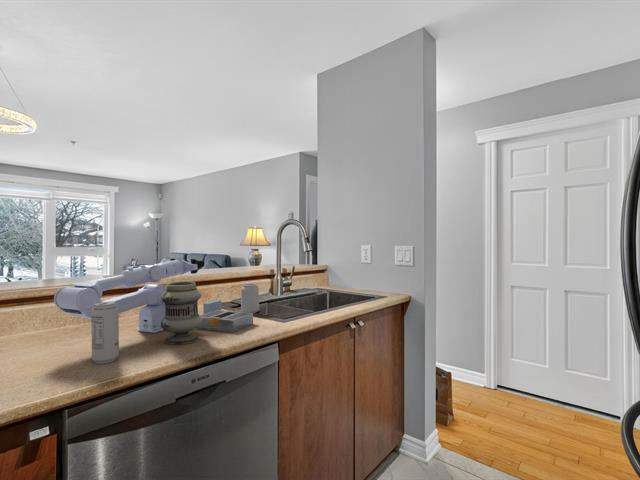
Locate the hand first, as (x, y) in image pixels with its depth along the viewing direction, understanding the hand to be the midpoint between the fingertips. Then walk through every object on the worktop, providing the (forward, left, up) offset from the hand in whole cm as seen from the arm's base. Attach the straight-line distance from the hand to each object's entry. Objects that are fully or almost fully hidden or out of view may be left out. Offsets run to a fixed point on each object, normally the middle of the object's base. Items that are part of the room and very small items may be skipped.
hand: (195, 263), depth 140 cm
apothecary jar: (-27, -18, -22) cm, 39 cm away
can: (+15, -16, -22) cm, 31 cm away
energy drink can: (-48, -12, -22) cm, 54 cm away
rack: (-8, -20, -22) cm, 31 cm away
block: (+3, -6, -22) cm, 23 cm away
